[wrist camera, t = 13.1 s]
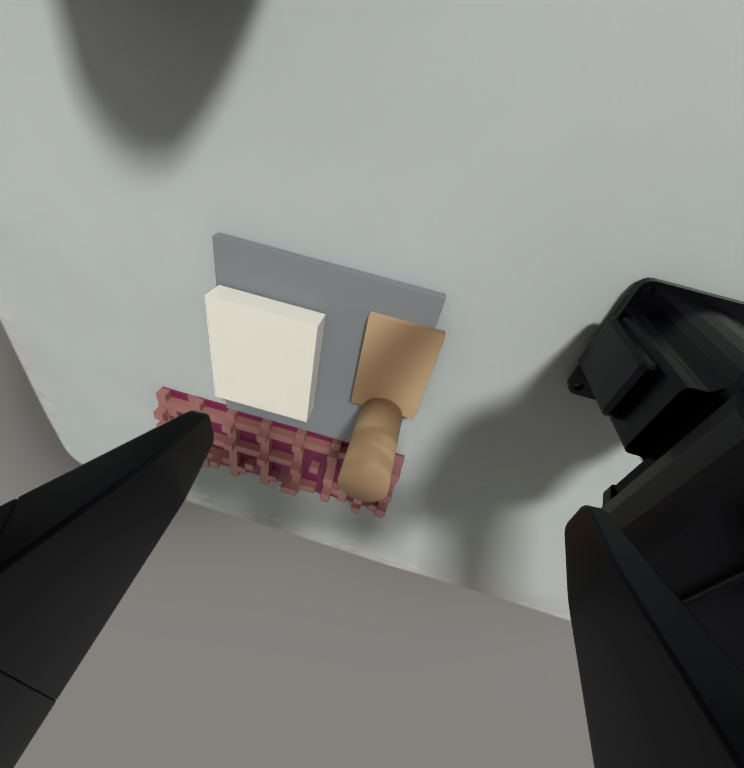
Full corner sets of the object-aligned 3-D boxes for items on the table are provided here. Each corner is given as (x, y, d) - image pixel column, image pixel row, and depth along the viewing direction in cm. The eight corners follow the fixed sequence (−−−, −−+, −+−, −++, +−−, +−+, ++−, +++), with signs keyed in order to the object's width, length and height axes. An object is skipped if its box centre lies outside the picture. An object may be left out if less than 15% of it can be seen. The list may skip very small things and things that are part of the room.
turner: (445, 331, 19) (440, 406, 14) (408, 430, 24) (395, 510, 19) (371, 311, 19) (341, 378, 14) (349, 413, 24) (321, 489, 19)
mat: (445, 294, 18) (445, 299, 18) (391, 448, 26) (390, 454, 25) (218, 232, 19) (212, 235, 18) (230, 402, 26) (226, 407, 26)
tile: (317, 326, 18) (204, 295, 18) (306, 422, 23) (215, 396, 23) (326, 312, 19) (220, 283, 20) (314, 406, 24) (227, 381, 24)
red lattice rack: (159, 379, 27) (141, 396, 25) (405, 450, 26) (401, 471, 25) (173, 443, 31) (158, 460, 30) (383, 504, 31) (380, 524, 29)
